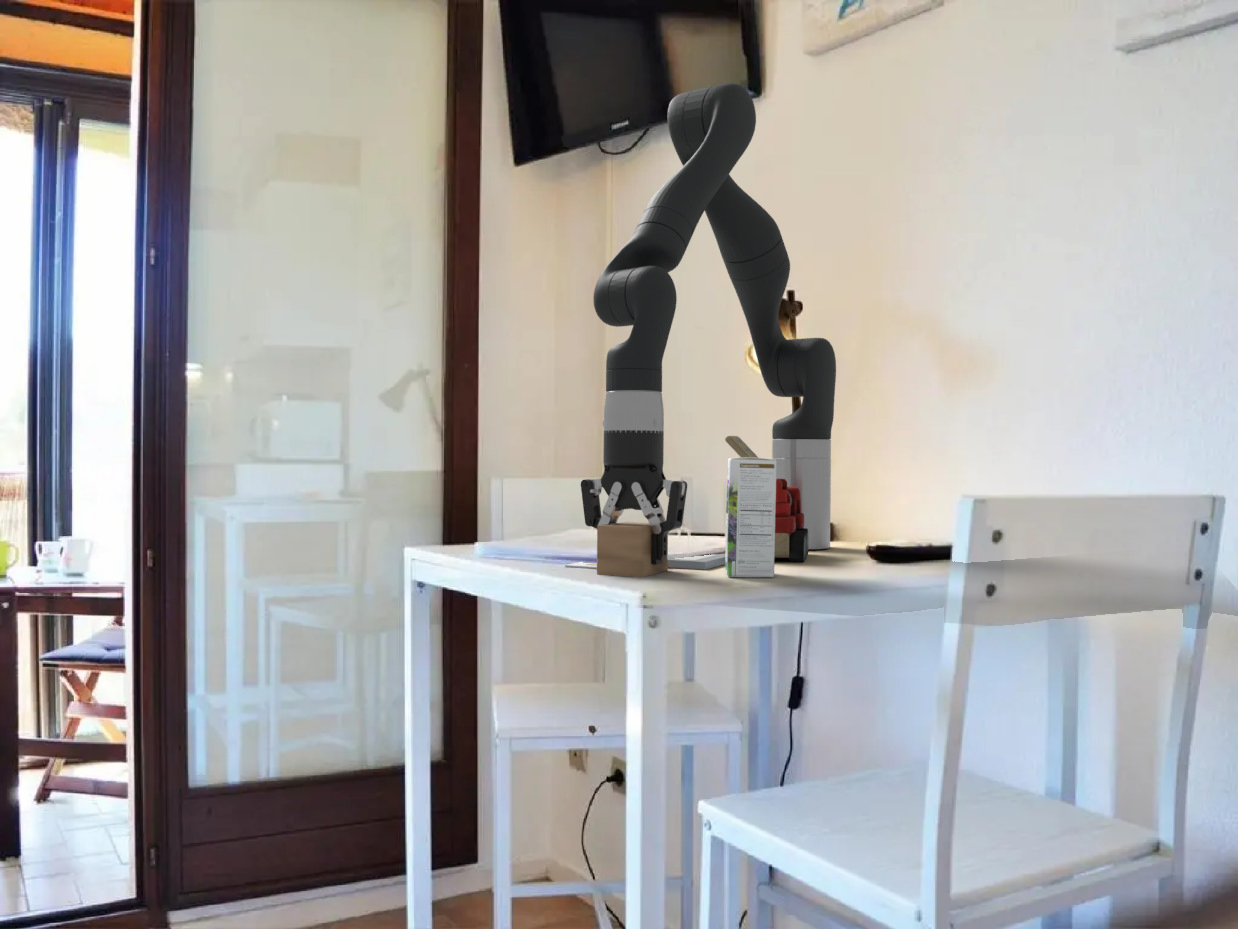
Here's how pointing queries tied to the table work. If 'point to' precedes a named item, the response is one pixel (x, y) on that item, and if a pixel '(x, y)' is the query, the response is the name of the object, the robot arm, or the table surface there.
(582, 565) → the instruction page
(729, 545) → the syrup box
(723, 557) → the plate
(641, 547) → the brick
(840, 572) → the table surface
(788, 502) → the toy fire truck
